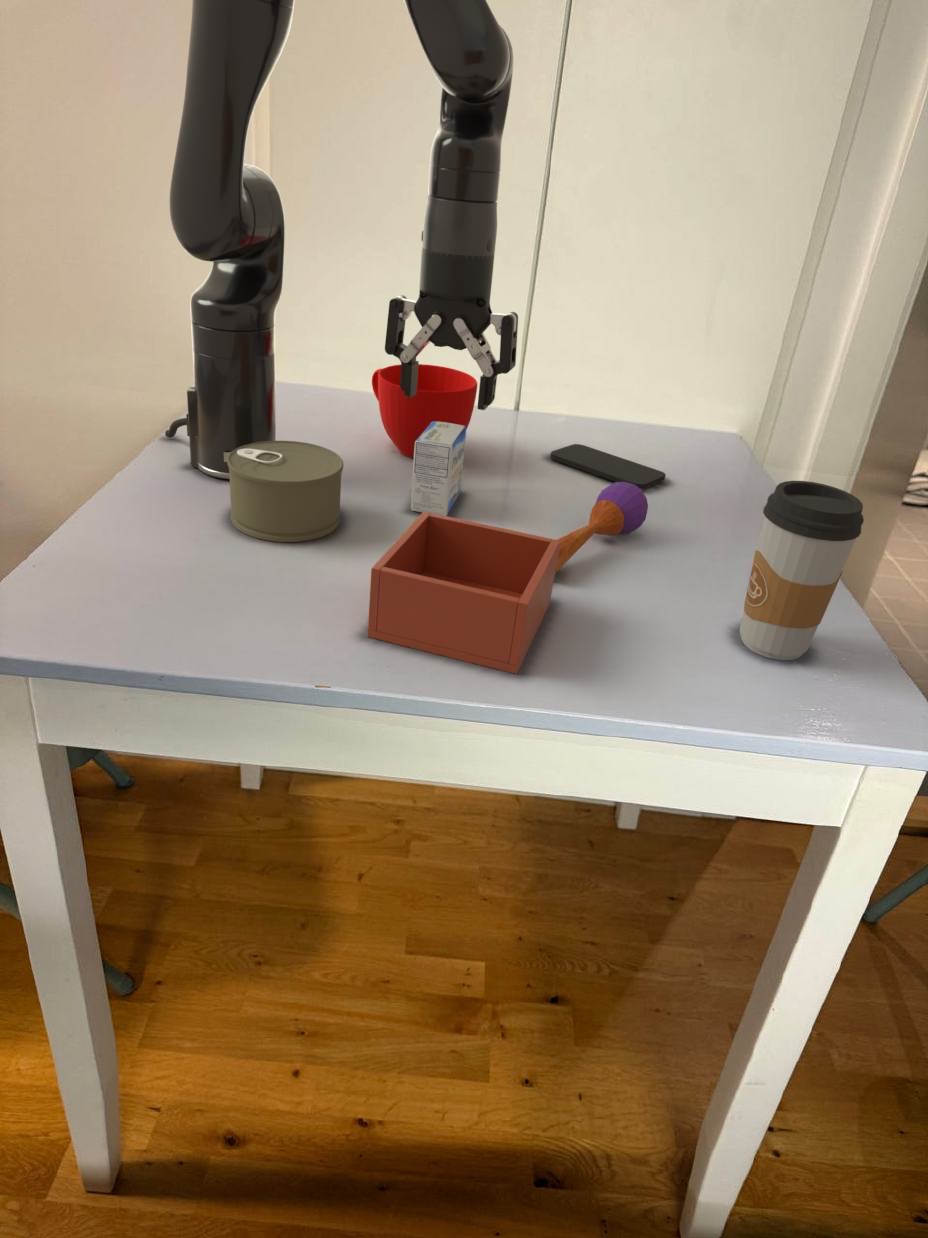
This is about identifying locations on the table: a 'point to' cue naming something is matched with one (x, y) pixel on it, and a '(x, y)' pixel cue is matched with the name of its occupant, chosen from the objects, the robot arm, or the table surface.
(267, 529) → the can
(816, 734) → the table surface
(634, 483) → the phone
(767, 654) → the coffee cup
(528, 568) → the bin
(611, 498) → the purple and orange maraca
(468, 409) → the ceramic cup
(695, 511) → the table surface
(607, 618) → the table surface
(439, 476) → the medicine box
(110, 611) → the table surface
